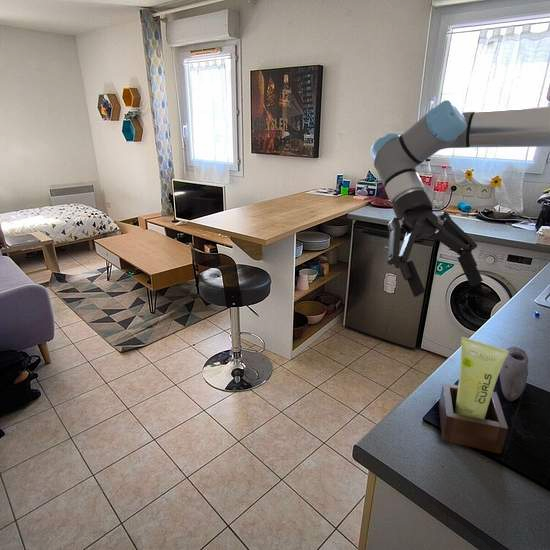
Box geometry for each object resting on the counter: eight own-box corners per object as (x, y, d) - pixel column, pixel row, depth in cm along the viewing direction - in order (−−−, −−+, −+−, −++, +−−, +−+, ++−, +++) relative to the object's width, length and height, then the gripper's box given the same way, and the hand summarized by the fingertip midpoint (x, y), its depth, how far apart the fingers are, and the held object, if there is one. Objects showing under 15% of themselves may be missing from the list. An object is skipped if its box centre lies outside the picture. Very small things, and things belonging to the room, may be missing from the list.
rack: (490, 415, 74) (496, 392, 72) (501, 454, 66) (508, 428, 63) (438, 405, 77) (442, 382, 75) (442, 440, 69) (447, 416, 66)
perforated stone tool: (521, 412, 75) (529, 385, 72) (492, 402, 77) (499, 375, 75) (525, 373, 86) (532, 348, 83) (499, 366, 89) (505, 341, 86)
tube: (456, 437, 69) (475, 351, 62) (445, 417, 74) (461, 335, 66) (486, 437, 69) (509, 351, 61) (473, 417, 74) (492, 335, 66)
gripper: (445, 203, 85) (485, 286, 78) (350, 214, 78) (384, 305, 71) (466, 183, 78) (513, 271, 71) (365, 193, 72) (404, 291, 64)
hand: (449, 288), depth 71 cm, fingers open, 13 cm apart
